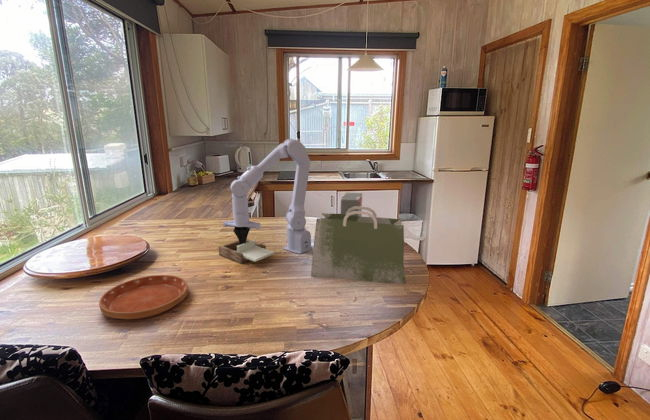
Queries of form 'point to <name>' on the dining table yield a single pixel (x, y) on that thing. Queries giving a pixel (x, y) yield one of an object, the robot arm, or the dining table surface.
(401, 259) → the grocery bag
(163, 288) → the saucer
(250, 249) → the cover plate
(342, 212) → the hard drive box
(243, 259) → the groove box
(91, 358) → the dining table surface
